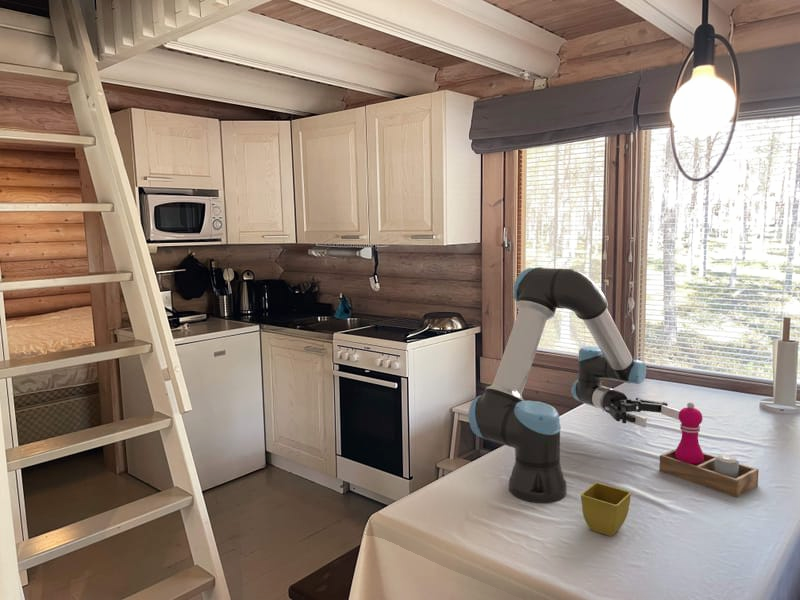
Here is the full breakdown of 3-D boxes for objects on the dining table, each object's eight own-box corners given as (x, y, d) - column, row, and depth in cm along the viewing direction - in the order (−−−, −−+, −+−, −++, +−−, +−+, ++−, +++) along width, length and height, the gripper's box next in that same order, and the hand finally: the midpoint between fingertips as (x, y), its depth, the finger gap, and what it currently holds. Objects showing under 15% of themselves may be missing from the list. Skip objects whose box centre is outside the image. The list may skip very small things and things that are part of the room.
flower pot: (631, 528, 139) (632, 491, 138) (616, 543, 133) (617, 505, 132) (595, 516, 145) (595, 481, 144) (579, 531, 139) (579, 494, 138)
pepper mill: (697, 466, 170) (699, 398, 167) (707, 477, 163) (709, 406, 160) (670, 466, 171) (672, 398, 168) (680, 477, 163) (681, 406, 161)
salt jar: (731, 490, 154) (732, 463, 154) (709, 483, 159) (710, 457, 158) (742, 484, 158) (743, 458, 157) (720, 477, 162) (721, 452, 161)
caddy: (736, 501, 151) (737, 480, 150) (659, 473, 168) (659, 455, 168) (757, 489, 157) (758, 469, 156) (681, 464, 174) (681, 446, 174)
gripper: (639, 405, 198) (693, 424, 179) (579, 417, 188) (630, 438, 169) (639, 384, 197) (694, 400, 178) (579, 394, 188) (630, 413, 168)
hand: (663, 419), depth 174 cm, fingers open, 13 cm apart
